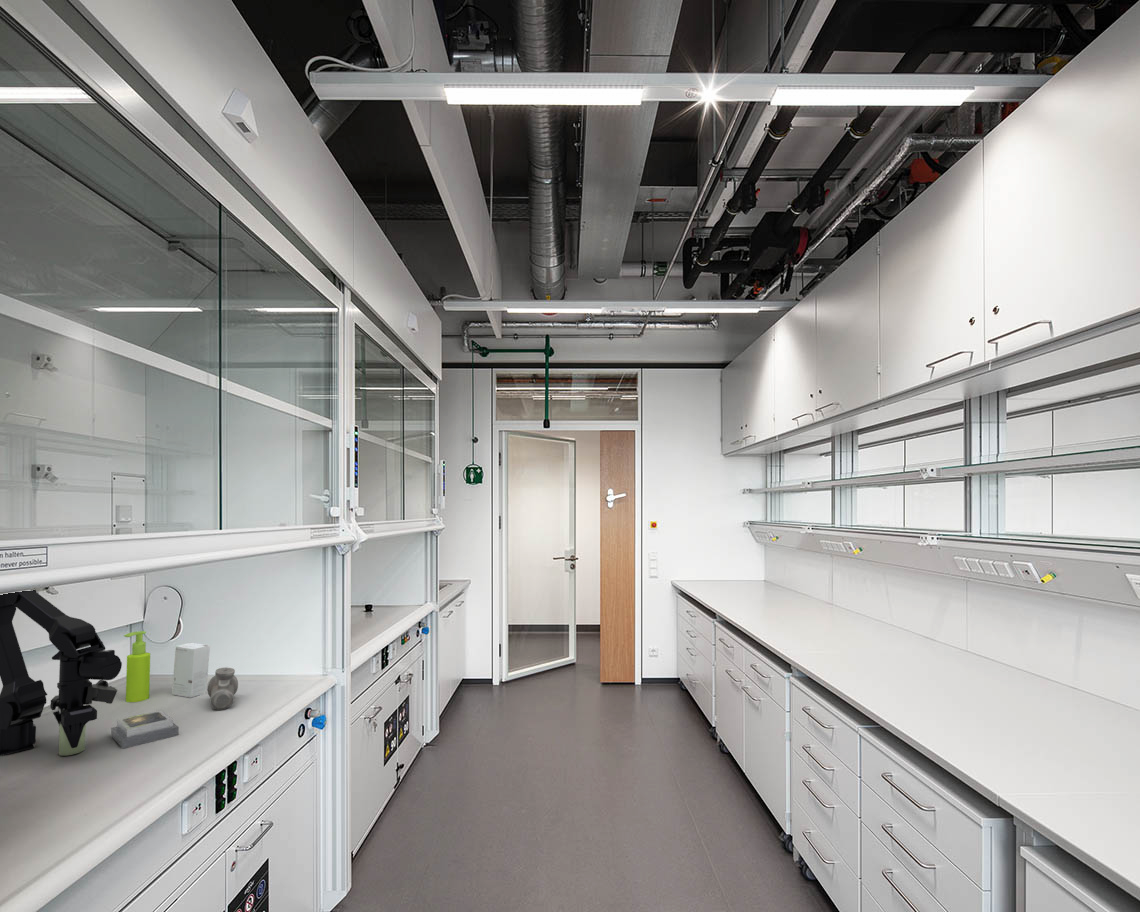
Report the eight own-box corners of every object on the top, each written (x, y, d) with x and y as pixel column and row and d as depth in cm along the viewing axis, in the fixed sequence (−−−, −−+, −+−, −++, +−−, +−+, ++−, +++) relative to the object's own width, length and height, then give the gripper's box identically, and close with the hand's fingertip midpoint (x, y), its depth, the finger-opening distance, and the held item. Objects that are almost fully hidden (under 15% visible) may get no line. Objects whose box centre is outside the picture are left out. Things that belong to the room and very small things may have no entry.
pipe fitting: (206, 698, 194) (210, 664, 194) (236, 697, 198) (240, 663, 198) (203, 716, 183) (207, 680, 183) (235, 714, 187) (239, 678, 187)
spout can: (60, 757, 152) (62, 718, 153) (56, 751, 156) (58, 712, 156) (86, 751, 156) (88, 712, 156) (82, 745, 160) (83, 707, 160)
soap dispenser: (117, 701, 194) (119, 633, 195) (142, 694, 200) (143, 628, 201) (129, 704, 191) (130, 635, 192) (153, 697, 197) (155, 630, 198)
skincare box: (171, 695, 199) (172, 646, 200) (189, 689, 205) (190, 641, 206) (192, 698, 196) (193, 648, 197) (209, 692, 202) (210, 643, 203)
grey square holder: (122, 748, 158) (123, 731, 159) (110, 735, 167) (111, 719, 167) (178, 734, 167) (178, 719, 167) (164, 723, 175) (164, 708, 175)
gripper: (123, 678, 156) (121, 745, 155) (105, 664, 169) (103, 725, 168) (65, 689, 148) (63, 759, 147) (51, 673, 161) (48, 738, 160)
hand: (72, 744), depth 156 cm, fingers closed on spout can, 5 cm apart
